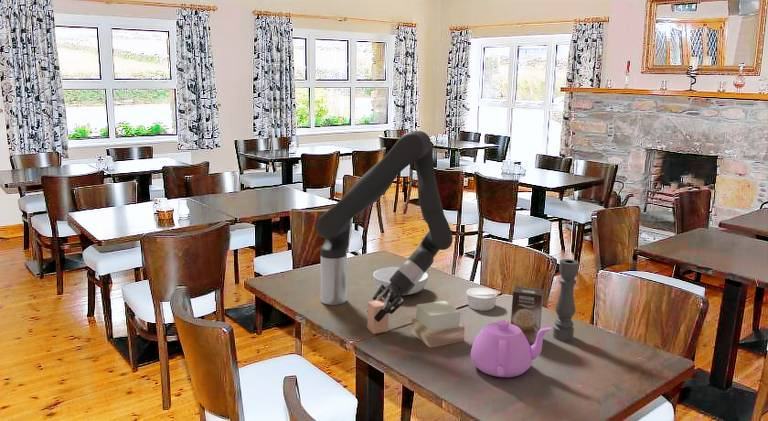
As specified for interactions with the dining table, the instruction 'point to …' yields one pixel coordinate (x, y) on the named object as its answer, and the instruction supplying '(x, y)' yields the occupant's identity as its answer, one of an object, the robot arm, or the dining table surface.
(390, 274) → the serving bowl
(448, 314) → the tower top block
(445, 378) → the dining table surface
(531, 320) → the coffee box
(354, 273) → the dining table surface
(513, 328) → the teapot
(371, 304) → the terracotta block
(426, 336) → the tower base block
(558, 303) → the candle holder
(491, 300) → the ramekin
